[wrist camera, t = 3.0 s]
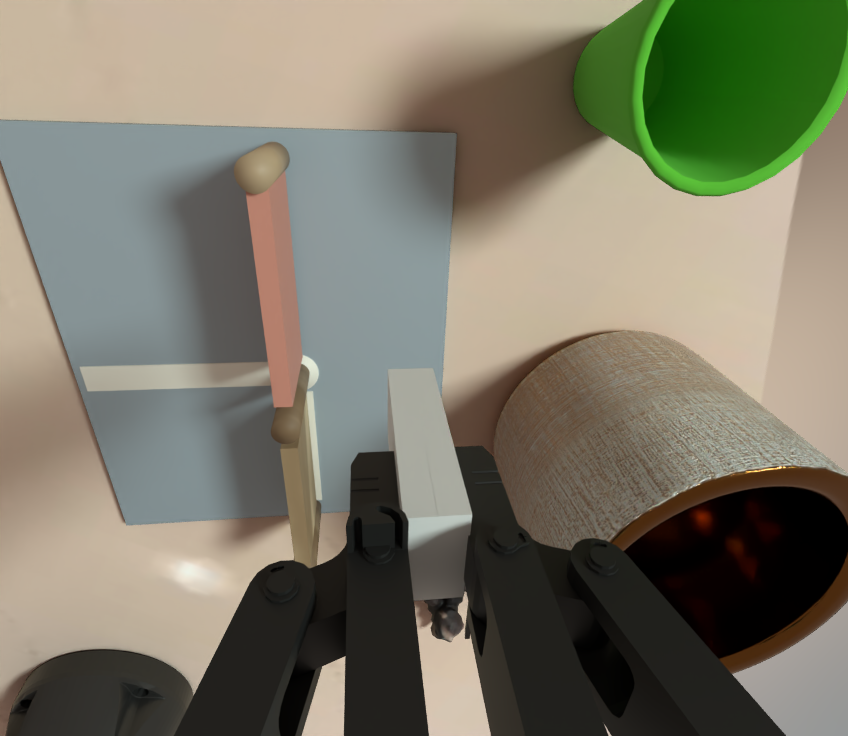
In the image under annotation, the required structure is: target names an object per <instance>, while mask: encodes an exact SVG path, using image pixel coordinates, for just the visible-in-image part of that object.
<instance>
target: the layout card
mask: <svg viewBox="0 0 848 736" xmlns="http://www.w3.org/2000/svg"><path fill="white" fill-rule="evenodd" d="M456 139H457V133H444V132H409V131H375V130H340V129H305V128H271V127H236V126H201V125H167V124H132V123H97V122H63V121H28V120H0V161H1V163H2V166H3V169H4V172H5V175H6V178H7V181H8V184H9V187H10V189H11V192H12V195H13V198H14V201H15V204H16V207H17V210H18V213H19V215H20V218H21V221H22V224H23V227H24V230H25V233H26V236H27V239H28V242H29V244H30V247H31V250H32V253H33V256H34V259H35V262H36V265H37V268H38V270H39V273H40V276H41V279H42V282H43V285H44V288H45V291H46V294H47V297H48V299H49V302H50V305H51V308H52V311H53V314H54V317H55V320H56V323H57V325H58V328H59V331H60V334H61V337H62V340H63V343H64V346H65V349H66V351H67V354H68V357H69V360H70V363H71V366H72V369H73V372H74V375H75V378H76V380H77V383H78V386H79V389H80V392H81V395H82V398H83V401H84V404H85V406H86V409H87V412H88V415H89V418H90V421H91V424H92V427H93V430H94V433H95V435H96V438H97V441H98V444H99V447H100V450H101V453H102V456H103V459H104V461H105V464H106V467H107V470H108V473H109V476H110V479H111V482H112V485H113V487H114V490H115V493H116V496H117V499H118V502H119V505H120V508H121V511H122V514H123V516H124V519H125V522H126V525H142V524H158V523H174V522H190V521H206V520H222V519H238V518H254V517H270V516H286V515H289V513H288V505H287V497H286V490H285V482H284V474H283V467H282V459H281V451H280V448H281V443H278V442H277V441H275V440H274V439H273V438H272V436H271V427H272V423H273V419H274V415H275V411H276V407H274V404H273V396H272V388H271V381H270V373H269V366H268V358H267V350H266V343H265V335H264V327H263V320H262V312H261V305H260V297H259V289H258V282H257V274H256V267H255V259H254V251H253V244H252V236H251V229H250V221H249V213H248V206H247V198H246V191H245V190H243V189H242V188H241V187H240V186H239V185H238V183H237V182H236V179H235V176H234V166H235V164H236V162H237V160H238V159H239V158H241V157H242V156H244V155H246V154H247V153H249V152H251V151H253V150H255V149H256V148H258V147H260V146H262V145H264V144H265V143H267V142H272V141H273V142H278V143H280V144H282V145H283V146H284V147H285V148H286V149H287V151H288V153H289V157H290V162H289V166H288V168H287V169H286V170H285V174H286V184H287V195H288V206H289V216H290V227H291V238H292V248H293V259H294V270H295V281H296V291H297V302H298V313H299V323H300V334H301V345H302V355H303V358H302V363H301V364H303V365H305V366H306V367H307V368H308V369H309V372H310V375H309V382H308V388H307V405H308V416H309V426H310V437H311V448H312V459H313V469H314V480H315V491H316V500H318V501H319V502H320V503H321V513H334V512H350V482H351V479H350V478H351V464H352V462H353V461H354V459H355V457H356V456H357V454H358V453H360V452H382V451H389V445H388V369H413V368H433V370H434V373H435V377H436V381H437V385H438V388H439V392H440V396H442V379H443V361H444V344H445V327H446V310H447V293H448V276H449V259H450V242H451V225H452V207H453V190H454V173H455V156H456Z"/></svg>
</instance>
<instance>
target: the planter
mask: <svg viewBox="0 0 848 736" xmlns="http://www.w3.org/2000/svg"><path fill="white" fill-rule="evenodd" d="M494 457H495V463H496V465H497V468H498V473H499V474H500V476H501V479H502V483H503V484H504V487H505V490H506V493H507V495H508V498H509V501H510V503H511V506H512V509H513V512H514V514H515V517H516V520H517V522H518V524H519V526H521V527H522V528H523V529H525V530H526V531H527V532H528V533H529V535H530V536H531V538H532V539H533V540H535V541H537V542H539V543H541V544H544V545H548V546H551V547H556V548H561V549H566V550H572V548H573V546H574V545H575V543H577V542H579V541H581V540H582V539H588V538H596V539H601V540H606V541H608V542H610V543H612V544H614V545H616V546H618V547H619V548H620V549H621V550H622V551H623V552H625V553H626V554H627V555H628V557H629V558H630V559H631V560H632V561H633V562H634V563H635V565H636V566H637V567H638V568H639V569H640V570H641V571H642V572H643V574H644V575H645V576H646V577H647V578H648V579H649V580H650V582H651V583H652V584H653V585H654V586H655V587H656V588H657V590H658V591H659V592H660V593H661V594H662V595H663V596H664V598H665V599H666V600H667V601H668V602H669V603H670V604H671V605H672V607H673V608H674V609H675V610H676V611H677V612H678V613H679V615H680V616H681V617H682V618H683V619H684V620H685V621H686V623H687V624H688V625H689V626H690V627H691V628H692V629H693V631H694V632H695V633H696V634H697V635H698V636H699V637H700V638H701V640H702V641H703V642H704V643H705V644H706V645H707V646H708V648H709V649H710V650H711V651H712V652H713V653H714V654H715V656H716V657H717V658H718V659H719V660H720V661H721V662H722V663H723V665H724V666H725V667H726V668H727V669H728V670H729V671H730V673H731V674H733V673H736V672H739V671H742V670H744V669H747V668H749V667H752V666H754V665H756V664H759V663H761V662H763V661H765V660H767V659H769V658H771V657H773V656H775V655H777V654H779V653H781V652H782V651H784V650H786V649H788V648H790V647H791V646H793V645H795V644H796V643H798V642H799V641H801V640H802V639H804V638H805V637H807V636H808V635H810V634H811V633H813V632H814V631H815V630H817V629H818V628H819V627H820V626H822V625H823V624H824V623H825V622H827V621H828V620H829V619H830V618H831V617H832V616H833V615H834V614H836V613H837V612H838V611H839V610H840V609H841V608H842V607H843V606H844V605H845V604H846V603H847V601H848V473H847V472H845V471H844V470H843V469H842V468H840V467H839V466H838V465H836V464H835V463H834V462H833V461H831V460H830V459H829V458H827V457H826V456H825V455H824V454H822V453H821V452H820V451H818V450H817V449H816V448H814V447H813V446H812V445H811V444H810V443H808V442H807V441H806V440H804V439H803V438H802V437H801V436H799V435H798V434H797V433H796V432H794V431H793V430H792V429H790V428H789V427H788V426H787V425H785V424H784V423H783V422H782V421H780V420H779V419H778V418H777V417H775V416H774V415H773V414H772V413H770V412H769V411H768V410H767V409H765V408H764V407H763V406H762V405H760V404H759V403H758V402H757V401H755V400H754V399H753V398H752V397H750V396H749V395H748V394H747V393H745V392H744V391H743V390H742V389H740V388H739V387H738V386H737V385H736V384H734V383H733V382H732V381H731V380H729V379H728V378H727V377H726V376H724V375H723V374H722V373H721V372H719V371H718V370H717V369H716V368H714V367H713V366H712V365H711V364H709V363H708V362H707V361H705V360H704V359H703V358H702V357H700V356H699V355H698V354H696V353H695V352H694V351H692V350H691V349H689V348H688V347H686V346H684V345H682V344H681V343H679V342H677V341H675V340H673V339H670V338H668V337H665V336H662V335H659V334H655V333H650V332H643V331H617V332H610V333H605V334H600V335H596V336H592V337H589V338H586V339H583V340H581V341H578V342H576V343H574V344H571V345H569V346H567V347H565V348H563V349H561V350H560V351H558V352H556V353H555V354H553V355H551V356H550V357H548V358H547V359H546V360H544V361H543V362H542V363H540V364H539V365H538V366H537V367H536V368H534V369H533V370H532V371H531V372H530V373H529V374H528V375H527V376H526V377H525V378H524V379H523V380H522V381H521V382H520V384H519V385H518V386H517V387H516V389H515V390H514V391H513V393H512V394H511V396H510V397H509V399H508V400H507V402H506V404H505V406H504V408H503V410H502V412H501V415H500V417H499V420H498V423H497V427H496V431H495V436H494Z"/></svg>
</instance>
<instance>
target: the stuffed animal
mask: <svg viewBox="0 0 848 736" xmlns="http://www.w3.org/2000/svg"><path fill="white" fill-rule="evenodd" d="M464 591H466V587H465V586H464ZM424 601H425V603H427V604H428V609H429V611H430V612H431V613H432V618H431V620H432V622H433V623H432V626H431V632H432V635H433V636H435V637H436V638H437V639H443V640H446V641H448V642H452V640H453V638H454V637H455V636H456V635H458V634H459V633H460V631H461V630H462V629H463V628H464V624H463V622H462V618H461V616H460V615H459V613H458V605H459V604H460V603H461V602H462V601H463V597H456V598H444V599H431V600H424Z"/></svg>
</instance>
